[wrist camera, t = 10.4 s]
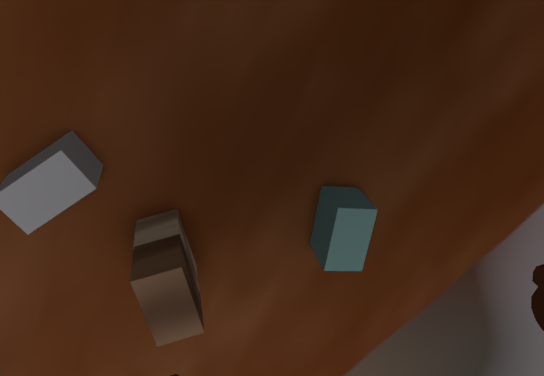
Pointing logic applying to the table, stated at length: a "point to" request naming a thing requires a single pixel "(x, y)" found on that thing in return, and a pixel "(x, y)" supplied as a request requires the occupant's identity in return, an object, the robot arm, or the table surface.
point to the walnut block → (167, 290)
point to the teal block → (342, 228)
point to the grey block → (49, 182)
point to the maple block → (164, 233)
